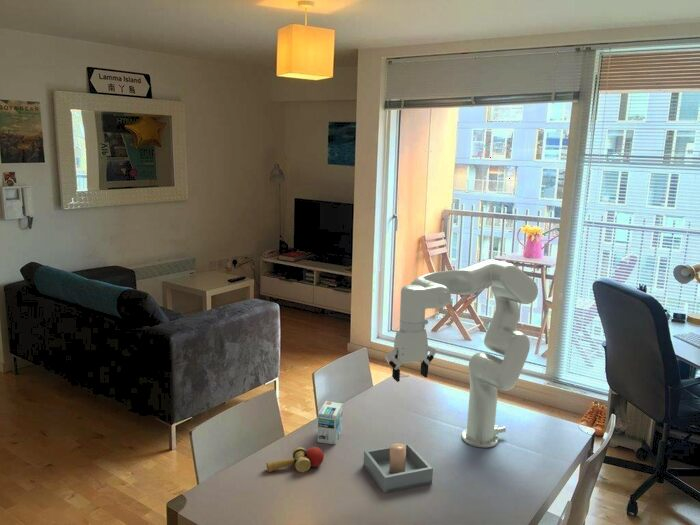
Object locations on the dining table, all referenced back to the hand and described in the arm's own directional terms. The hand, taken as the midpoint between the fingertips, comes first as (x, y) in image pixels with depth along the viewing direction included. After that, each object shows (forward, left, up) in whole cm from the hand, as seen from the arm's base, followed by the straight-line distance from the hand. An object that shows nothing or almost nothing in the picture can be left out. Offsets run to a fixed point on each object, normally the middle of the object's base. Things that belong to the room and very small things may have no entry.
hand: (410, 377), depth 177 cm
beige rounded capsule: (+5, +4, -29) cm, 29 cm away
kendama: (+34, -10, -30) cm, 46 cm away
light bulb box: (+17, -25, -30) cm, 43 cm away
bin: (+5, +4, -30) cm, 31 cm away
